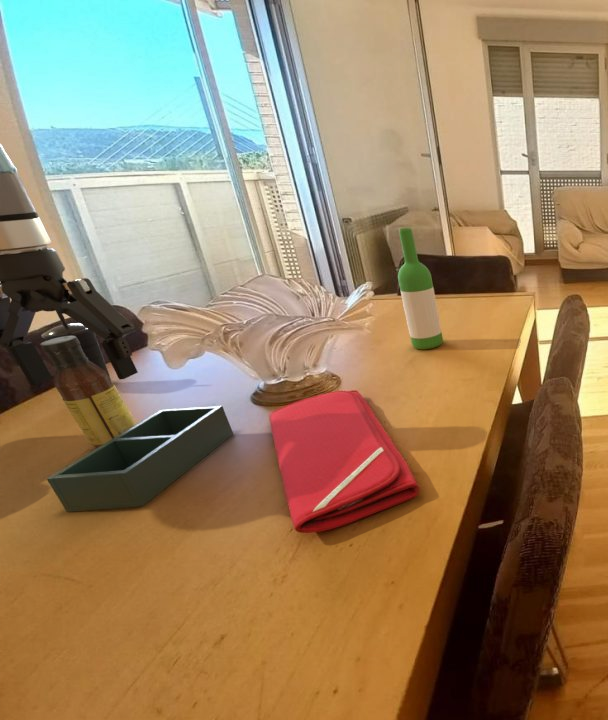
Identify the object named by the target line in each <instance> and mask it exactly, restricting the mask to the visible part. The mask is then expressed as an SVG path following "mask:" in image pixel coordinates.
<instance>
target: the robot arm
mask: <svg viewBox="0 0 608 720" xmlns="http://www.w3.org/2000/svg"><path fill="white" fill-rule="evenodd" d="M51 244H52V240H51V238H50V236H49V234H48V232H47V231H46V228H45V226H44V224H43V222H42V220H41V218H40V217H39V215H38V213H37V211H36V209H35V206H34V205H33V203H32V200H31V198H30V197H29V195H28V193H27V191H26V188H25V186H24V184H23V182H22V180H21V177H20V175H19V173H18V169H17V167H16V166H15V165H14V163H13V162H12V160H11V158H10V157H9V155H8V154H7V152H6V151H5V148H4V147H3V145H2V144H1V143H0V347H2V348H3V349H6V351H7V353H8V354H9V356H10V357H11V359H12V361H13V363H15V364H16V365H17V366H19V368H20V370H21V372H22V373H23V375H24V376H25V378H26V380H27V381H28V383H29V385H30V386H37V385H39V384H41V383H44V382H46V381H48V380H49V381H50V380H52V379H53V376H52V374H51V372H50V371H49V369H48V367H47V366H46V364H45V362H44V360H43V358H42V357H41V355H40V353H39V351H38V350H37V347H36V346H35V344H34V343H33V341H30V338H27V337H28V335H29V331H30V329H31V325H32V323H33V321H34V318H35V315H36V313H39V312H56V311H57V312H59V313H62V314H63V315H64V314H65V315H66V316H68V317H69V318H71V319H72V320H74V321H76V323H80V324H82V325H83V326H85V327H86V328H88V329H90V330H91V331H93V332H94V333H95V335H96V336H99V337H101V339H103V340H102V341H101V342H100V344H101V346H102V348H103V351H104V352H105V354H106V356H107V358H108V360H109V362H110V364H111V366H112V369H113V370H114V372H115V374H116V376H117V378H118V380H126V379H128V378H129V377H132V376H133V375H136V374H138V373H139V372H138V370H137V367H136V365H135V363H134V361H133V359H132V356H133V351H132V349H131V347H130V345H129V343H128V341H127V338H126V336H127V335H130V334H131V333H134V332H136V326H135V325H133V324H132V323H131V322H130V321H129V319H128V318H126V317H125V316H123V314H121V312H119V311H118V310H117V309H116V308H115V307H114V306H113V305H112V304H111V303H110V302H109V301H108V300H107V299H105V298H104V297H103V296H102V295H101V294H100V293H99V292H98V291H97V290H96V288H95V286H94V285H93V283H92V281H91V280H90V279H89V278H88V277H82V278H78V279H74V280H70V281H69V280H67V279H66V278H65V277H64V274H63V273H64V272H65V270H66V267H65V266H64V264H63V262H62V260H61V258H60V255H59V254H58V251H57V250H56V249H54V248H53V247H49V245H51Z"/></svg>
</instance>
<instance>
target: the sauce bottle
mask: <svg viewBox="0 0 608 720" xmlns="http://www.w3.org/2000/svg"><path fill="white" fill-rule="evenodd" d="M39 346H40V347H41V350H42V351H43V352H44V353H46V354H47V356H48V358H49V360H50V361H51V362H52V364H53V367H54V369H55V374H54V377H53V385H54V387H55V388H56V390H57V392H58V393H59V395H60V396H61V398H62V401H63V403H64V404H65V406H66V407H67V409H68V410H69V412H70V414H71V416H72V417H73V419H74V420H75V422H76V424H77V426H78V427H79V428H80V429H81V432H82V433H83V435H84V436H85V438H86V439H87V441H88V443H89V444H90V445H91V446H92V447H93V448H94V450H95V449H97V448H98V447H100V446H102V445H103V444H105V443H107V442H108V441H110V440H112V439H113V438H115V437H117V436H118V435H120V434H122V433H123V432H125V431H127V430H128V429H130V428H132V427H133V426H135V425H137V424H138V423H137V421H136V420H135V418H134V417H133V414H132V413H131V411H130V410H129V408H128V406H127V404H126V403H125V401H124V399H123V398H122V396H121V394H120V392H119V390H118V389H117V387H116V385H115V383H114V382H113V381H112V379H111V380H110V379H109V377H108V375H107V373H106V371H104V370H103V369H101V368H100V367H98V366H97V365H95V364H94V363H92V362H91V361H89V360H88V357H86V356H85V354H84V352H83V350H82V349H81V346H80V342H79V340H78V339H77V337H76V336H65V337H58V338H54V339H51V340H48V341H47V340H45V341H43V342H41V343H40V344H39Z"/></svg>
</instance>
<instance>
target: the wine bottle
mask: <svg viewBox="0 0 608 720" xmlns="http://www.w3.org/2000/svg"><path fill="white" fill-rule="evenodd" d="M398 233H399V239H400V244H401V249H402V254H403V259H404V264H402V265H401V267H400V268H399V270H398V273H397V280H398V285H399V290H400V295H401V301H402V305H403V310H404V315H405V319H406V323H407V329H408V333H409V337H410V342H411V345H412V347H413V348H414V349H416V350H422V351H423V350H431V349H435V348H437V347H440V346H441V345H442V344H443V342H444V341H443V340H444V339H443V331H442V326H441V320H440V315H439V310H438V305H437V299H436V294H435V288H434V284H433V279H432V274H431V271H430V270H429V268H428V267H427V266H426V265H425V264H424V263H422V262H420V261H419V258H418V253H417V247H416V244H415V243H416V242H415V238H414V233H413V229H412V228H410V227H406V228H405V227H404V228H403V227H402V228H399V229H398Z"/></svg>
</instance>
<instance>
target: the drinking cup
mask: <svg viewBox="0 0 608 720" xmlns="http://www.w3.org/2000/svg"><path fill="white" fill-rule="evenodd" d="M55 313H56V315H57V317H58V319H59V320H60V322H61V324H60V325H56V326H54V327H52V328H50V329H49V330H47V331H45V332H43V333H42V334H41V338H42V339H45V341H48V340H51V339H54V338H58V337H65V336H76V337H77V339H78V340H79V342H80V346H81V349H82V350H83V352H84V354H85V356H86V357H88V360H89V361H91V362H92V363H94V364H95V365H97V366H98V367H100V368H101V369H103V370H104V371H106V373H107V375H108V377H109V379H110V380H111V381H112V378H111V376H110V373H109V370H108V366H107V364H106V361H105V359H104V356H103V353H102V350H101V347H100V343H99V342H98V338H97V334H96V333H94V332H93V331H91V330H90V329H88V328H86V327H85V326H83V325H82V324H80V323H79V322H75V323H73V322H72V323H68V322H67V320H66V318H65V316H64V314H62V313H59V312H57V311H55Z"/></svg>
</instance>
